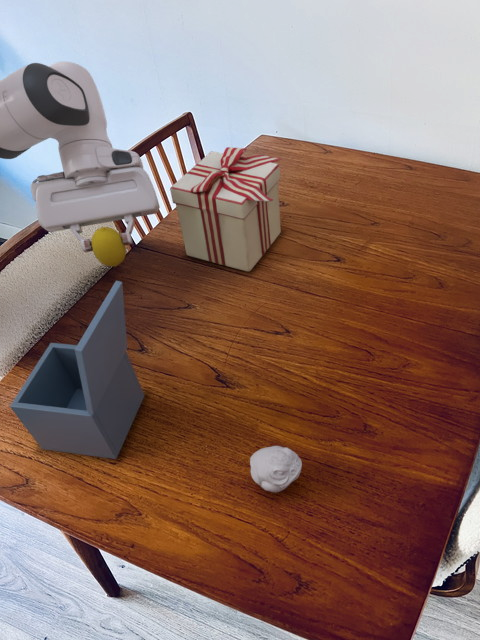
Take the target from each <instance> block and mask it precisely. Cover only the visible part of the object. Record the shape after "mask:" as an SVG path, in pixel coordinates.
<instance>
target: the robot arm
mask: <svg viewBox="0 0 480 640" xmlns="http://www.w3.org/2000/svg"><path fill="white" fill-rule="evenodd" d="M107 123H108V122H107V117H106V113H105V108H104V105H103V101H102V98H101V95H100V92H99V89H98V88H97V85H96V82H95V81H94V78H93V76H92V74H91V73H90V72H89V70H87V68H85V67H84V66H83V65H80V64H78V63H75V62H72V61H57V62H54V63H52V64H50V65H47V64H44V63H40V62H31V63H28V64H26V65H24V66H22V67H21V68H19V69H17V70H15V71H13V72H12V73H10V74H8V75H7V76H5V77H4V78H3V79H1V80H0V159H2V160H13V159H16V158H18V157H19V156H21V155H23V154H24V153H25V152H27V151H28V150H29V149H31V148H32V147H34V146H36V145H38V144H40V143H43V142H45V141H46V140H48V139H52V140H55V141H57V143H58V147H57V149H58V153H59V159H60V163H61V167H62V170H63V171H60V172H53V173H51V174H42V175H38V176H36V178H35V179H33V181H32V182H31V184H30V193H31V196H32V199H33V200H34V201H35V207H36V215H37V221H38V224H39V226H40V227H41V228H42V229H44V230H45V231H47V232H49V233H54V232H58V231H65V230H70V231H71V233H72V235H74V236H75V238H77V239H78V241H79V242H80V245H81V249H82V251H83V253H89V252H93V249H92V243H91V239H90V238H89V239H85V238H84V237H83V236H82V235H81V234H83V228H84V227H88V226H93V225H99V224H104V223H105V224H106V223H110V222H117V221H122V220H124V223H125V224H126V229H125V232H122V233H120V236H121V237H122V241H123V244H124V245H125V246H128V245H133V244H134V242H133V238H132V233H133V231H134V228H135V224H136V223H135V218H140V217H144V216H145V217H146V216H150V215H155V214H158V212H159V210H160V207H161V206H160V202H159V198H158V196H157V192H156V190H155V188H154V185H153V182H152V180H151V178H150V176H149V173H148V172H147V171H146V170H145V169H144V164H143V160H142V157H140V155H139V154H138V153H137V152H136V151H132V150H126V149H120V148H119V149H118V148H114V147H113V143H112V142H111V140H110V138H109V136H108V132H107V128H108V127H107V126H108V124H107Z"/></svg>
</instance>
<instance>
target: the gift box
mask: <svg viewBox="0 0 480 640" xmlns="http://www.w3.org/2000/svg"><path fill="white" fill-rule="evenodd" d="M247 150H248V149H247V148H246V147H231V146H229V147H228V146H227V147H225V149H224V151H223V152H218V151H214V150H210V152H208V153H207V154H206V155H205V156H204V157H203V158H202V159H201V160H199V162H197V164H195V165H194V166H193V167H191V169H189V170H188V171H187V172H186V173H185V174H184V175H183V176H182V177H181V178H179V179H178V180H177V181H176V182H175V183H174V184H173V185H171V186H170V187H169V191H170V196H171V201H172V204H175V208H176V211H177V216H178V221H179V226H180V231H181V237H182V240H183V244H184V248H185V254H186V255H187V256H189V257H191V258H195V259H199V260H201V261H202V260H203V261H207V262H210V263H214V264H217V265H221V266H224V267H230V268H233V269H236V270H239V271H240V270H241V271H243V272H247V273H249V272H251V271H252V270H253V269H254V268H255V266H256V265H257V264H258V262H259V261H260V260H261V258H262V257H263V256H264V255H265V253H266V252H267V251H268V250H269V249H270V247H271V246H272V245H273V243H274V242H275V241H276V239H277V238H278V237H279V236H280V234H281V233H282V232H281V230H282V229H281V211H280V193H279V192H280V191H279V182H280V180H281V169H280V164H279V163H275V162H278V161H282V160H283V158H280V157H279V158H277V157H272V156H268V155H263V154H257V155H251V156H247V157H245V156H243V154H244V152H247Z"/></svg>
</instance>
